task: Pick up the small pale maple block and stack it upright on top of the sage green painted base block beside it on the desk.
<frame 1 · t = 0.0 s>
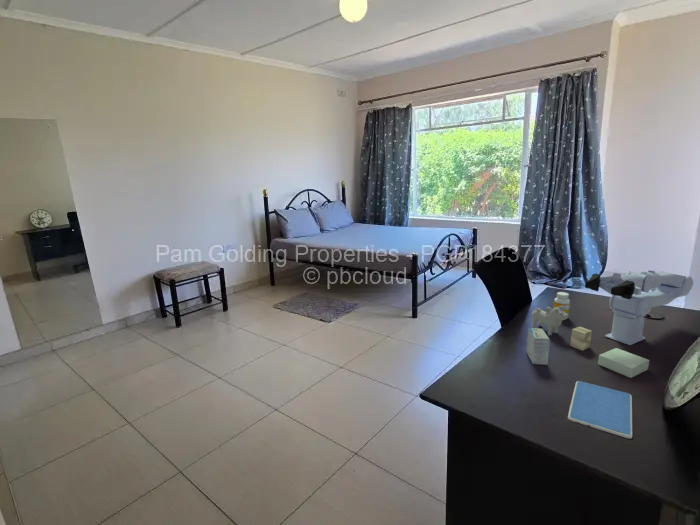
hand: (598, 287, 115), 22 cm above the table, tool horizontal, fingers open, 7 cm apart
tablet computer: (600, 410, 94), on the table
white animal figurine: (547, 331, 137), on the table
sage base block: (622, 366, 112), on the table
supplement bottle: (560, 317, 149), on the table
maple block: (579, 346, 125), on the table
medicine box: (536, 359, 118), on the table
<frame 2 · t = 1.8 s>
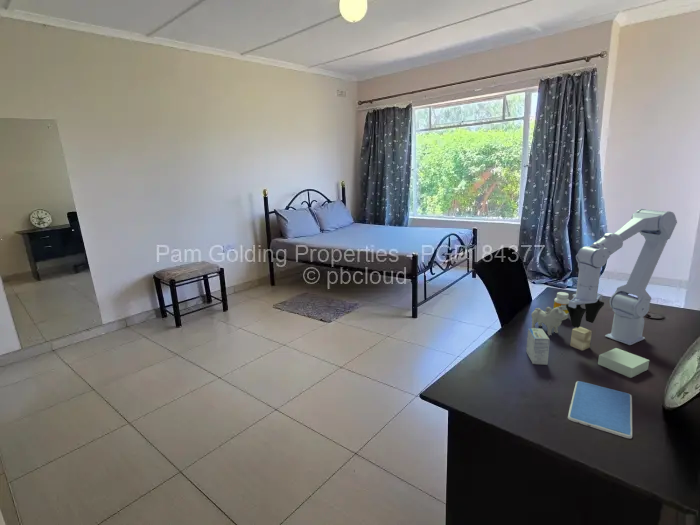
hand: (582, 324, 123), 8 cm above the table, tool pointing down, fingers open, 7 cm apart
nothing on the table moved.
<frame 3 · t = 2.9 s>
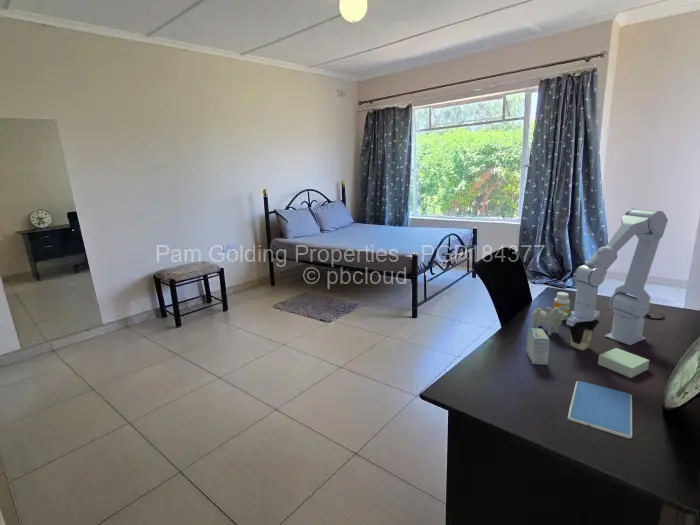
hand: (580, 341, 124), 2 cm above the table, tool pointing down, fingers closed on maple block, 4 cm apart
maple block: (579, 346, 125), on the table, touching gripper
everything else where it was.
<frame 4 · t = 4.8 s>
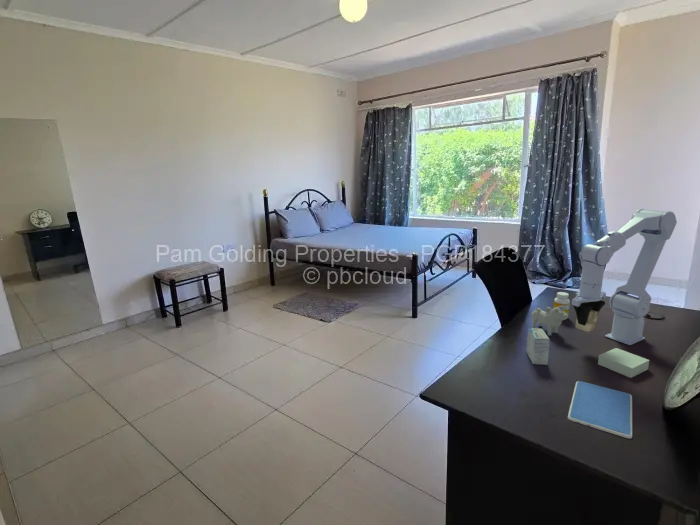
hand: (586, 322, 121), 9 cm above the table, tool pointing down, fingers closed on maple block, 4 cm apart
maple block: (585, 328, 122), point 7 cm above the table, touching gripper
everything else where it was.
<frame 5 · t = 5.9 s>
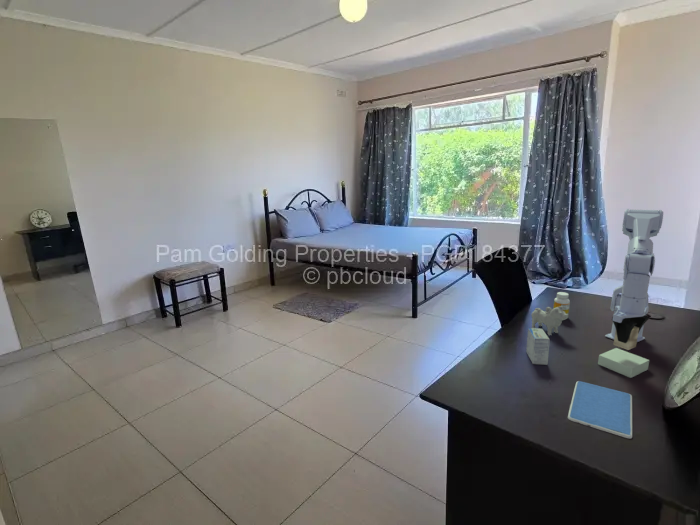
hand: (626, 339, 110), 9 cm above the table, tool pointing down, fingers closed on maple block, 4 cm apart
maple block: (624, 345, 110), point 7 cm above the table, touching gripper
everything else where it was.
when the fingers open (6 cm above the table, at t = 6.9 s): maple block stays where it is, resting on sage base block.
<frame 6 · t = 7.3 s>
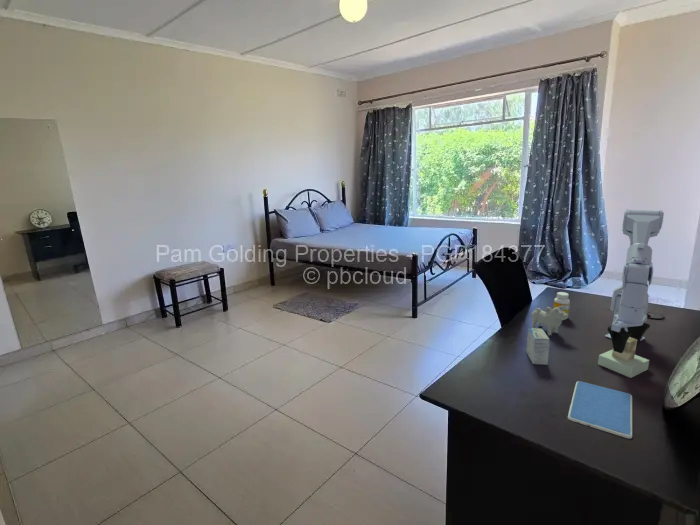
hand: (625, 348, 110), 6 cm above the table, tool pointing down, fingers open, 7 cm apart
maple block: (622, 357, 111), point 3 cm above the table, touching sage base block
everything else where it was.
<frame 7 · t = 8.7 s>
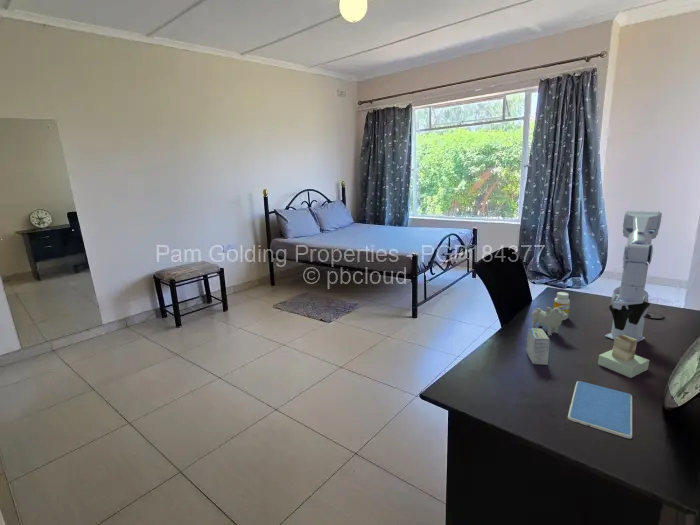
hand: (626, 326, 115), 10 cm above the table, tool pointing down, fingers open, 7 cm apart
nothing on the table moved.
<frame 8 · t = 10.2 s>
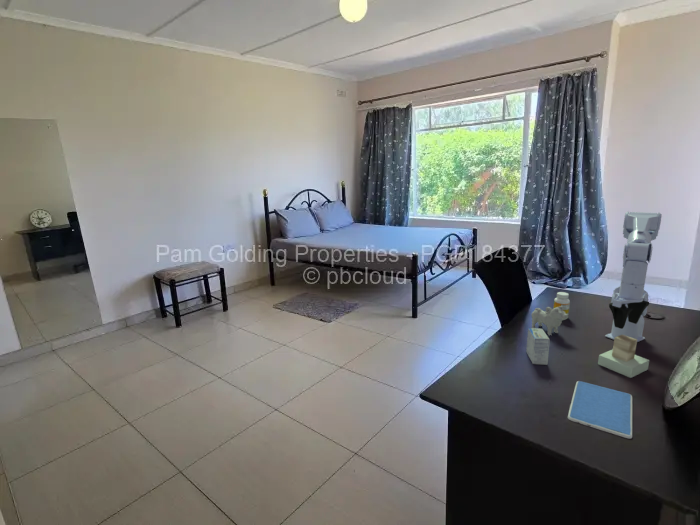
hand: (625, 325, 115), 10 cm above the table, tool pointing down, fingers open, 7 cm apart
nothing on the table moved.
at the end: maple block 0.3 cm off-centre on the sage base block, point 3.0 cm above the sage base block's base; maple block tilted 0°; the gripper is holding nothing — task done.
